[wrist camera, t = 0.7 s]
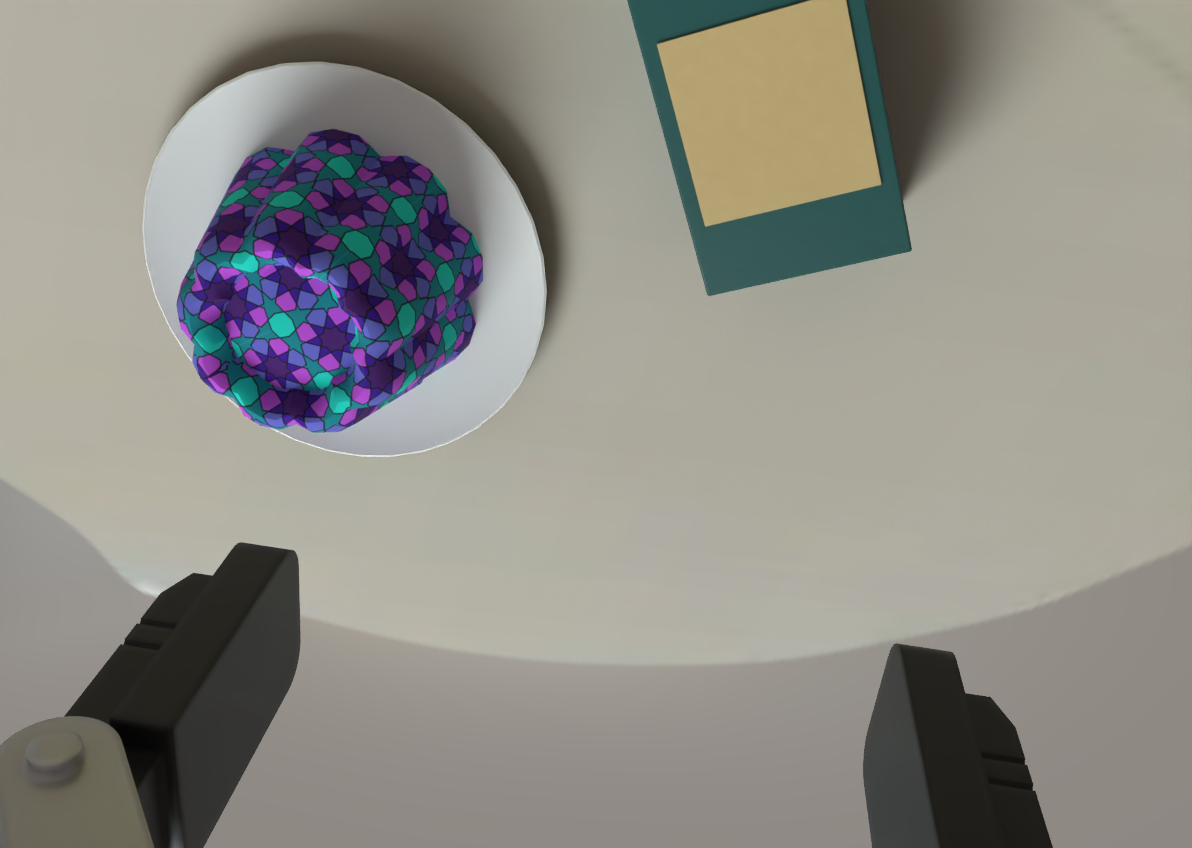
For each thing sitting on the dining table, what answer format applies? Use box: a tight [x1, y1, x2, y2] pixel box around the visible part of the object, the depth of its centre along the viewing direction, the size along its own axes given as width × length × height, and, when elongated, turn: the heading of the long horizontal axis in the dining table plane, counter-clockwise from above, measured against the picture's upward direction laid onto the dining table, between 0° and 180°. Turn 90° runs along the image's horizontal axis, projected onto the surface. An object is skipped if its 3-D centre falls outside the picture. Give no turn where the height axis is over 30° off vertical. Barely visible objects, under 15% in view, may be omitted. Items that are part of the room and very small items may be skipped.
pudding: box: [142, 61, 547, 457], centre depth 31 cm, size 12×12×5 cm
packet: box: [627, 0, 912, 296], centre depth 27 cm, size 5×8×4 cm, turn 17°
